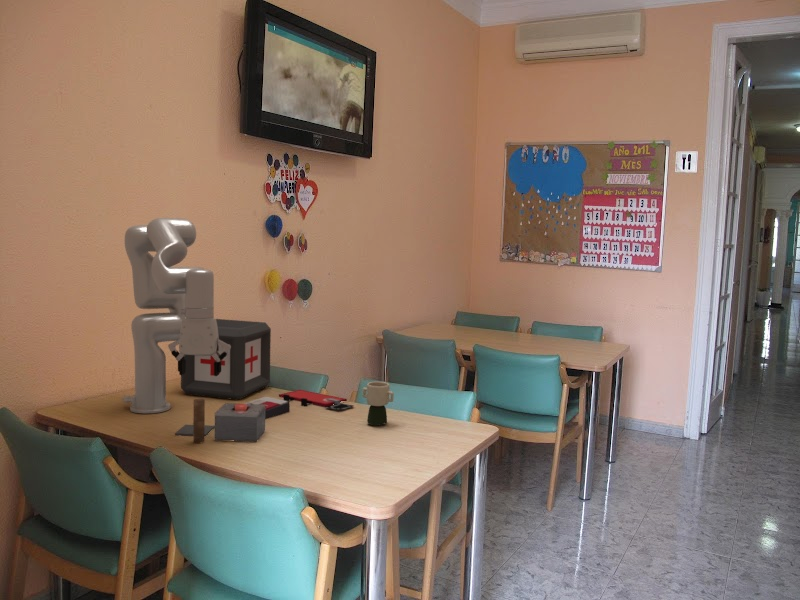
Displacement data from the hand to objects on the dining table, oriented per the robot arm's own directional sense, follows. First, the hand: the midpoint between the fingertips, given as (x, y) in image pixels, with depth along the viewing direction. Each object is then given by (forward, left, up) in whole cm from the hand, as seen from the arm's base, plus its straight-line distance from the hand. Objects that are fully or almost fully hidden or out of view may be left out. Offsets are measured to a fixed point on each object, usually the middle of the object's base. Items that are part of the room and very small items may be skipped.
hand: (199, 374), depth 190 cm
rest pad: (-4, +9, -19) cm, 22 cm away
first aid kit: (-9, +60, -20) cm, 64 cm away
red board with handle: (+26, +49, -20) cm, 59 cm away
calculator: (+11, +31, -20) cm, 38 cm away
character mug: (+49, +24, -19) cm, 58 cm away
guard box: (+10, +7, -19) cm, 23 cm away
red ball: (+10, +7, -13) cm, 18 cm away
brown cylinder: (0, 0, -19) cm, 19 cm away
